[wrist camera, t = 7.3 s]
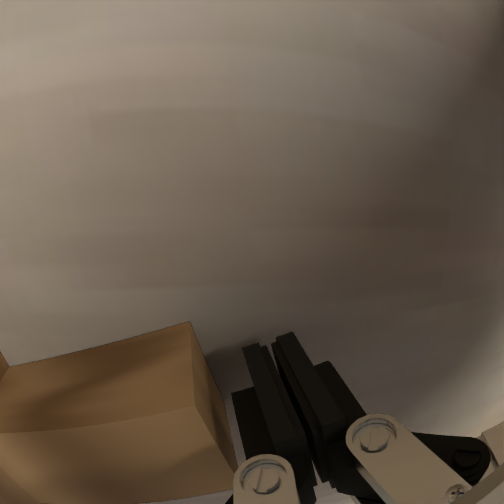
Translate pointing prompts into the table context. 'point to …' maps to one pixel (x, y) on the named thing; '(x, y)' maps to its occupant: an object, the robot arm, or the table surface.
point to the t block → (115, 425)
